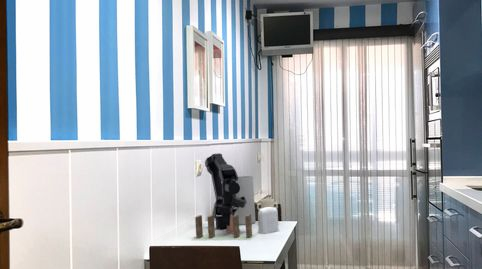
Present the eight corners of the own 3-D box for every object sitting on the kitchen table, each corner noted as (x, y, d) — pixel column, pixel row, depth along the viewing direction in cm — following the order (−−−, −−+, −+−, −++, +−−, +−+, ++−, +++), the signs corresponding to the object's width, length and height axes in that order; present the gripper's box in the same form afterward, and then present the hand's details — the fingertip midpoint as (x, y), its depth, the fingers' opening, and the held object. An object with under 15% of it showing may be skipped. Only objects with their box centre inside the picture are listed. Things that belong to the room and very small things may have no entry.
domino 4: (246, 238, 230) (245, 216, 230) (248, 236, 235) (247, 214, 235) (249, 238, 230) (248, 216, 230) (252, 236, 234) (251, 214, 235)
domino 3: (233, 238, 231) (232, 216, 232) (236, 236, 236) (235, 214, 236) (236, 238, 231) (235, 216, 231) (239, 236, 236) (238, 214, 236)
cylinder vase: (244, 220, 284) (242, 175, 284) (260, 222, 275) (257, 176, 275) (227, 224, 275) (225, 178, 276) (243, 226, 266) (240, 178, 266)
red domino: (227, 234, 244) (226, 213, 244) (230, 232, 248) (229, 211, 249) (230, 234, 243) (229, 213, 243) (233, 232, 248) (232, 211, 248)
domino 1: (196, 238, 236) (195, 217, 236) (199, 236, 241) (198, 215, 241) (199, 238, 236) (198, 217, 236) (203, 236, 240) (201, 215, 240)
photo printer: (274, 230, 247) (273, 205, 247) (280, 231, 244) (278, 206, 244) (257, 234, 241) (255, 208, 242) (262, 235, 238) (261, 208, 238)
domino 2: (208, 238, 234) (207, 216, 235) (211, 236, 239) (210, 215, 239) (211, 238, 234) (210, 216, 234) (215, 236, 239) (213, 215, 239)
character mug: (277, 222, 271) (276, 198, 271) (279, 224, 264) (278, 199, 264) (257, 224, 270) (256, 199, 270) (259, 226, 263) (257, 201, 263)
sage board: (191, 241, 232) (190, 240, 232) (200, 235, 245) (200, 234, 245) (250, 241, 225) (250, 239, 225) (256, 235, 238) (256, 234, 238)
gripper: (239, 194, 235) (241, 228, 235) (248, 190, 253) (250, 221, 253) (216, 195, 238) (218, 228, 238) (227, 190, 256) (229, 221, 256)
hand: (230, 224), depth 246 cm, fingers closed on red domino, 5 cm apart
